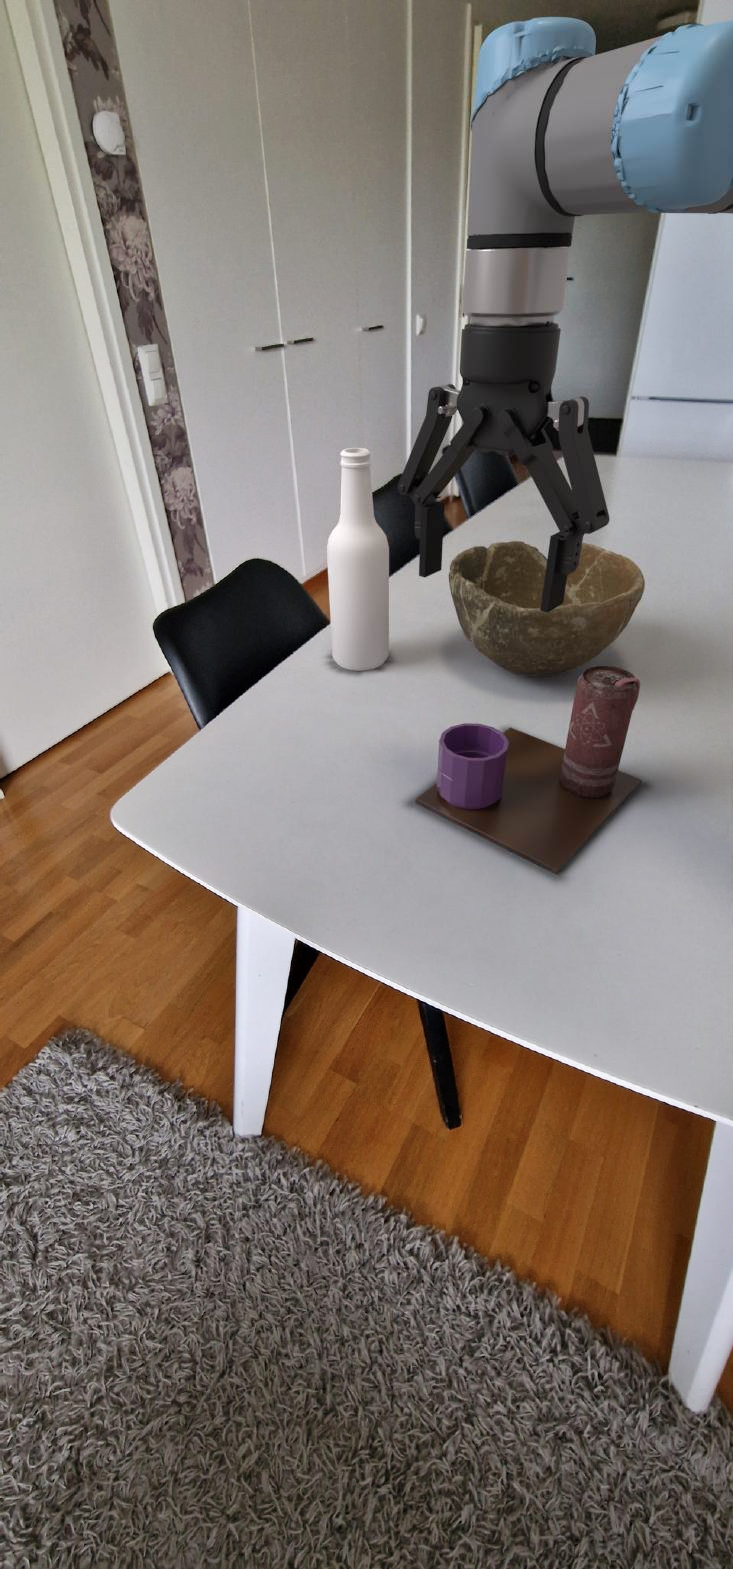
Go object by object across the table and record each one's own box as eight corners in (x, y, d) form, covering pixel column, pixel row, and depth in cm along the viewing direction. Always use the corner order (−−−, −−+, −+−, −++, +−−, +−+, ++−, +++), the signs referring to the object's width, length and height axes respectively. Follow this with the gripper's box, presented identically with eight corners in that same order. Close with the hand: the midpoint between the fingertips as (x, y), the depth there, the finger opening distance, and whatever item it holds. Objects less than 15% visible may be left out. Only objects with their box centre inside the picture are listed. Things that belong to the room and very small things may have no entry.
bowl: (445, 623, 120) (449, 534, 111) (606, 627, 118) (624, 536, 109) (442, 704, 98) (448, 601, 89) (641, 711, 95) (667, 606, 87)
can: (621, 799, 79) (650, 690, 71) (565, 799, 79) (586, 690, 71) (608, 768, 84) (632, 662, 76) (554, 768, 84) (573, 663, 76)
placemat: (641, 783, 82) (642, 779, 82) (555, 874, 71) (556, 869, 70) (509, 731, 92) (510, 727, 92) (415, 802, 80) (415, 798, 80)
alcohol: (394, 669, 107) (395, 455, 89) (337, 675, 105) (326, 460, 88) (382, 644, 114) (381, 442, 96) (328, 649, 112) (317, 445, 94)
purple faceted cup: (514, 789, 81) (521, 738, 77) (477, 821, 76) (482, 769, 72) (462, 765, 85) (465, 716, 81) (423, 794, 80) (425, 743, 76)
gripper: (693, 322, 49) (630, 609, 62) (413, 313, 63) (409, 551, 75) (648, 329, 45) (590, 638, 57) (357, 318, 58) (362, 570, 71)
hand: (487, 589), depth 66 cm, fingers open, 13 cm apart
